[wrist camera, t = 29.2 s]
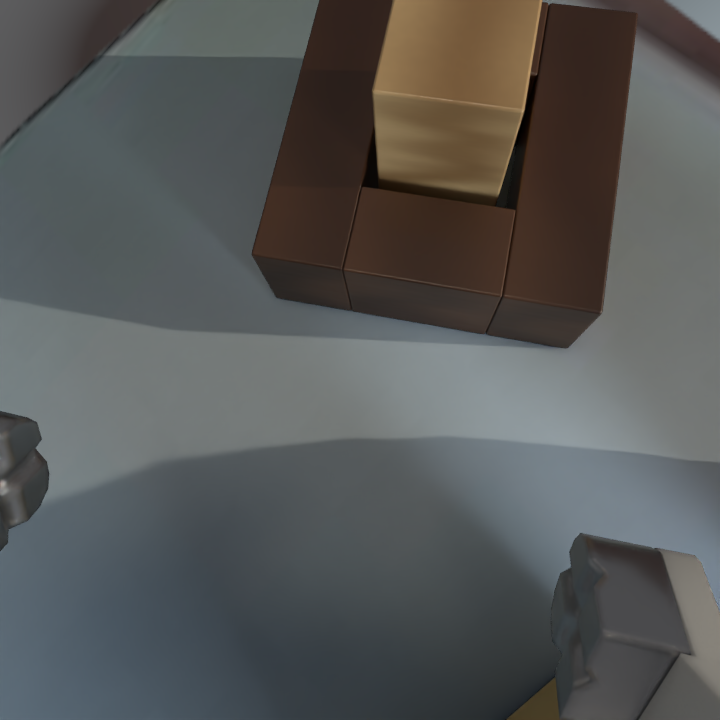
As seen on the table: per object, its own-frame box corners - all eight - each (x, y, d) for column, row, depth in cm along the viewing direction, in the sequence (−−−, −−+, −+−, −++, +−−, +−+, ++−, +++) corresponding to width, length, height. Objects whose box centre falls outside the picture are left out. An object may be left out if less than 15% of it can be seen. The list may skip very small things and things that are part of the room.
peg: (380, 229, 24) (371, 91, 16) (400, 140, 25) (399, -32, 17) (483, 246, 23) (524, 112, 16) (499, 154, 24) (545, -15, 17)
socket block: (275, 298, 23) (250, 254, 19) (336, 57, 26) (325, -24, 22) (567, 349, 22) (603, 314, 18) (601, 90, 25) (638, 11, 21)
